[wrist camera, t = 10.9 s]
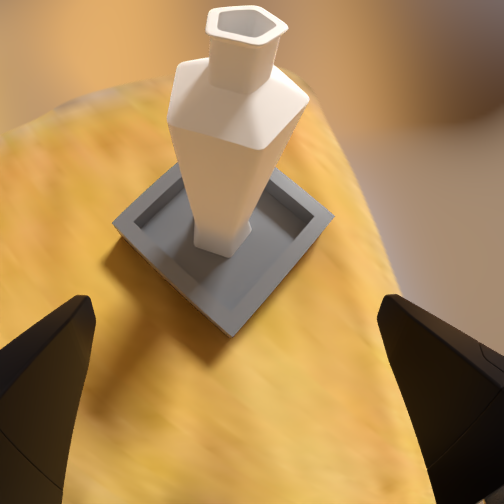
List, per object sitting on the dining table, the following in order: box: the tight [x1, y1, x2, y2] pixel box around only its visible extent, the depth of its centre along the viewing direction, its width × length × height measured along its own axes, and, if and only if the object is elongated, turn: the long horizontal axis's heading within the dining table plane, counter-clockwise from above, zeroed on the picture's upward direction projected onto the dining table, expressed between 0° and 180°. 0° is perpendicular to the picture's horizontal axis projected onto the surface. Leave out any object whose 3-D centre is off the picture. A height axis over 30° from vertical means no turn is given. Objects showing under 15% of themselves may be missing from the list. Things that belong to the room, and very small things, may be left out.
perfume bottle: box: [167, 6, 309, 258], centre depth 14 cm, size 5×4×15 cm
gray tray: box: [112, 162, 335, 338], centre depth 20 cm, size 10×10×2 cm
